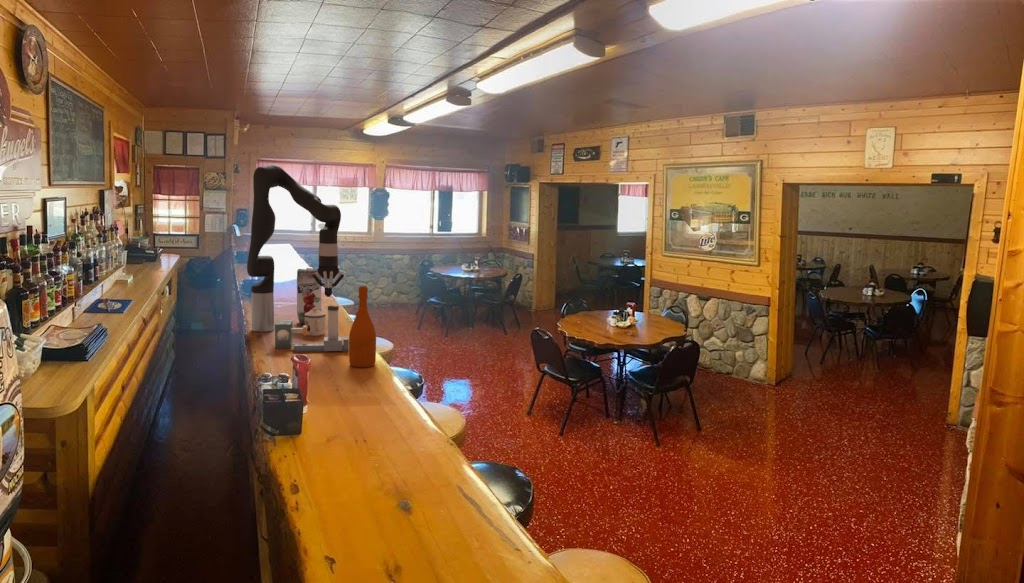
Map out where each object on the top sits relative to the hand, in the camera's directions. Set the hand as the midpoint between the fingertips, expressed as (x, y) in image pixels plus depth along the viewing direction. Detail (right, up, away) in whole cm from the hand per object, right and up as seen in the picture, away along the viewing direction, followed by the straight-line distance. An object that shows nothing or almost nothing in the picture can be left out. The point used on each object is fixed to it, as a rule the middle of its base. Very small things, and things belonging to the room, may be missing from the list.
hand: (328, 296), depth 264 cm
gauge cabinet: (-18, -20, -1) cm, 27 cm away
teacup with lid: (-12, -17, +21) cm, 30 cm away
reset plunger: (-13, -16, -1) cm, 20 cm away
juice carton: (-21, -13, +42) cm, 49 cm away
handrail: (-2, -22, -5) cm, 22 cm away
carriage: (+3, -22, -4) cm, 22 cm away
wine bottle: (+19, -26, -22) cm, 39 cm away
